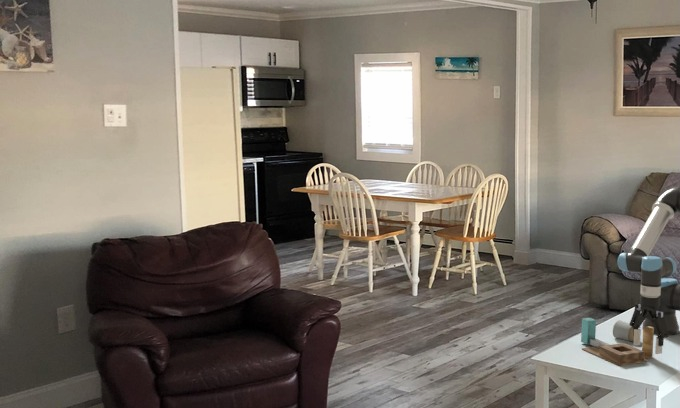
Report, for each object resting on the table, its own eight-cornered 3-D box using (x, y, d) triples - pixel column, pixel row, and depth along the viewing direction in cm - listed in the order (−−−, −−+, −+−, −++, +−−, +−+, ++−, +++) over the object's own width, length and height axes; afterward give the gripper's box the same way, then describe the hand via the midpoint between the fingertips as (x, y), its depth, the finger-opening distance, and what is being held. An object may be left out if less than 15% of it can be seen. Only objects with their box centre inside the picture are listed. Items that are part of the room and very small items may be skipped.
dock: (609, 345, 338) (609, 336, 337) (647, 361, 318) (647, 351, 317) (581, 349, 333) (582, 340, 332) (618, 365, 313) (619, 355, 312)
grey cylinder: (629, 343, 341) (630, 325, 340) (611, 339, 347) (612, 321, 346) (642, 339, 348) (643, 321, 347) (625, 334, 354) (626, 317, 353)
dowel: (647, 354, 326) (648, 325, 324) (654, 357, 322) (656, 328, 321) (639, 356, 324) (640, 326, 323) (646, 359, 321) (648, 329, 319)
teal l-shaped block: (588, 340, 342) (589, 317, 341) (617, 352, 326) (618, 328, 325) (581, 341, 341) (581, 318, 340) (609, 354, 325) (610, 329, 323)
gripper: (621, 289, 330) (619, 341, 332) (664, 303, 308) (661, 359, 310) (636, 288, 332) (634, 339, 335) (680, 301, 310) (677, 356, 313)
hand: (647, 349), depth 323 cm, fingers open, 11 cm apart
